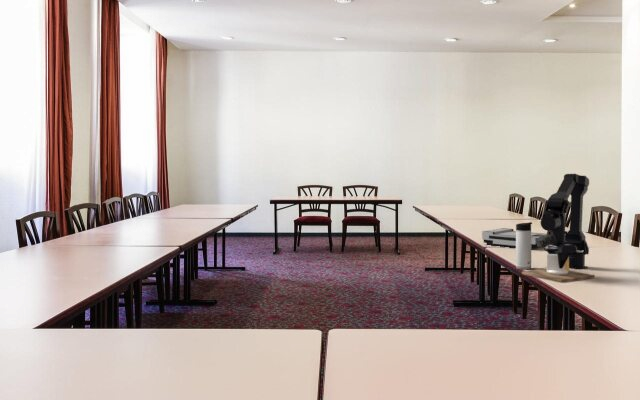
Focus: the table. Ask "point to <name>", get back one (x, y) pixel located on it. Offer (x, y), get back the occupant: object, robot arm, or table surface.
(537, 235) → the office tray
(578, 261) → the robot arm
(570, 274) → the base plate
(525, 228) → the travel mug
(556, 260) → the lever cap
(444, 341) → the table surface
